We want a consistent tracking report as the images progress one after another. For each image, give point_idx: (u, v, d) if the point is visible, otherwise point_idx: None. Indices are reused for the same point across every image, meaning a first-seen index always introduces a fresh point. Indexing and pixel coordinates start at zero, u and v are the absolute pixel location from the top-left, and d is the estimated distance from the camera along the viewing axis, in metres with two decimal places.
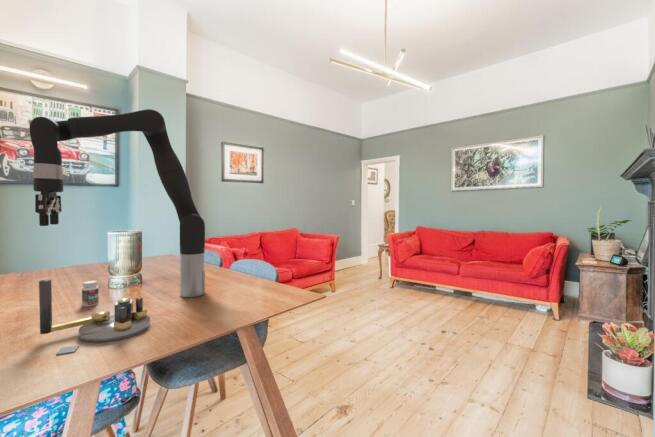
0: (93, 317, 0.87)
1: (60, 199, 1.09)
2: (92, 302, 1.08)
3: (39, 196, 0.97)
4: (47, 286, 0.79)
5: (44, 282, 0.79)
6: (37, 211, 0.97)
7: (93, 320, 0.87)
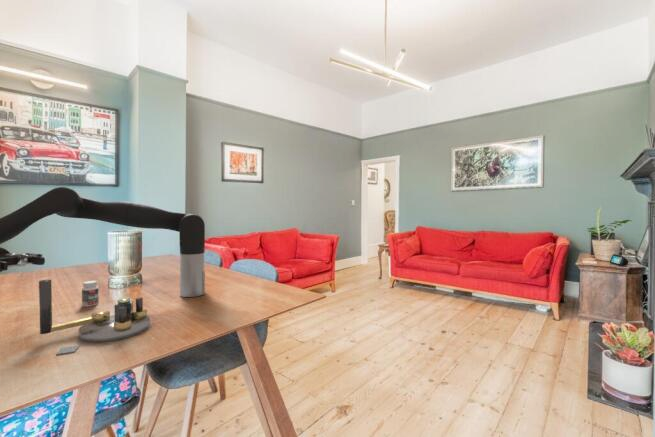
0: (93, 317, 0.87)
1: (30, 253, 0.90)
2: (92, 302, 1.08)
3: None
4: (47, 286, 0.79)
5: (44, 282, 0.79)
6: None
7: (93, 320, 0.87)
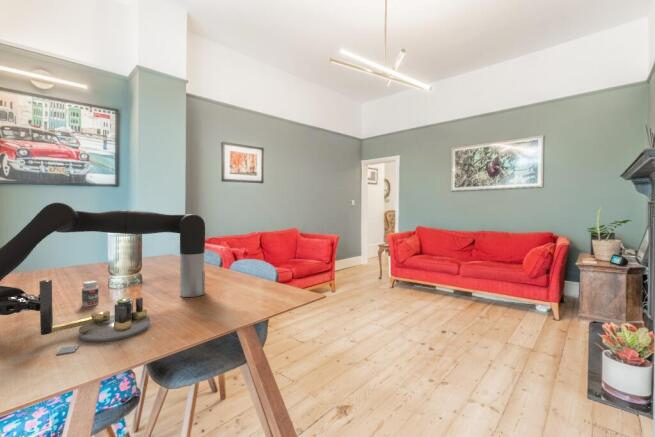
0: (93, 317, 0.87)
1: None
2: (92, 302, 1.08)
3: None
4: (48, 286, 0.79)
5: (45, 282, 0.78)
6: (16, 310, 0.78)
7: (93, 320, 0.87)
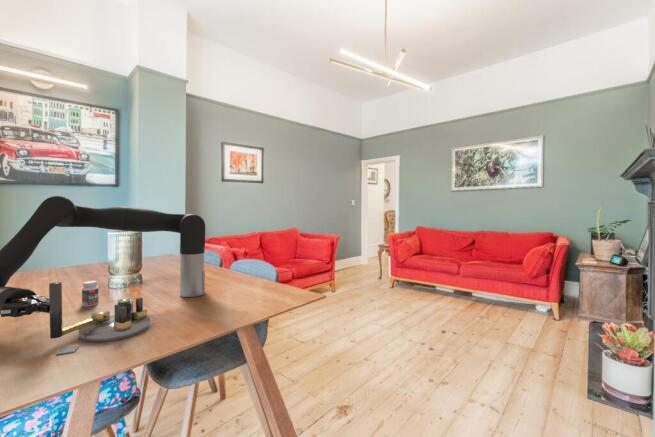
0: (96, 317, 0.87)
1: None
2: (92, 302, 1.08)
3: (3, 312, 0.75)
4: (60, 288, 0.77)
5: (57, 284, 0.77)
6: (28, 312, 0.77)
7: (97, 320, 0.87)
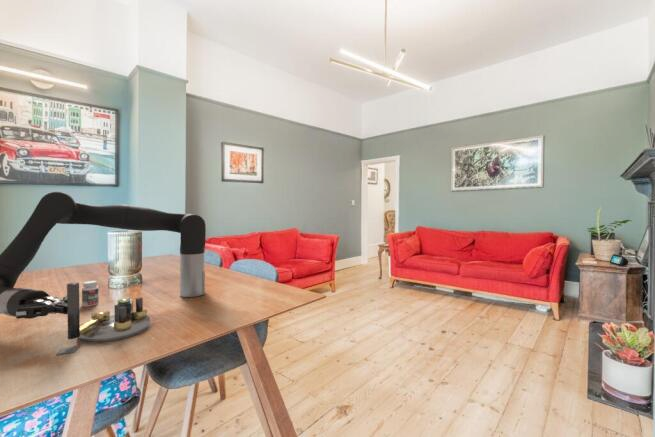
0: (100, 317, 0.88)
1: None
2: (92, 302, 1.08)
3: (19, 314, 0.74)
4: (78, 288, 0.78)
5: (77, 284, 0.77)
6: (43, 314, 0.76)
7: (100, 320, 0.88)
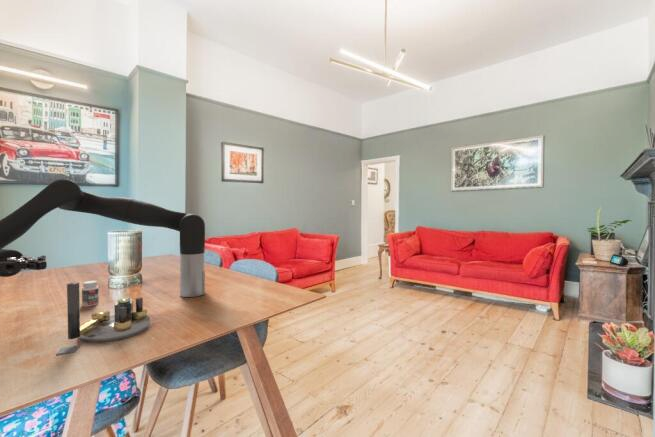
0: (100, 317, 0.88)
1: (43, 256, 0.87)
2: (92, 302, 1.08)
3: None
4: (78, 288, 0.78)
5: (77, 284, 0.77)
6: (16, 269, 0.78)
7: (100, 320, 0.88)
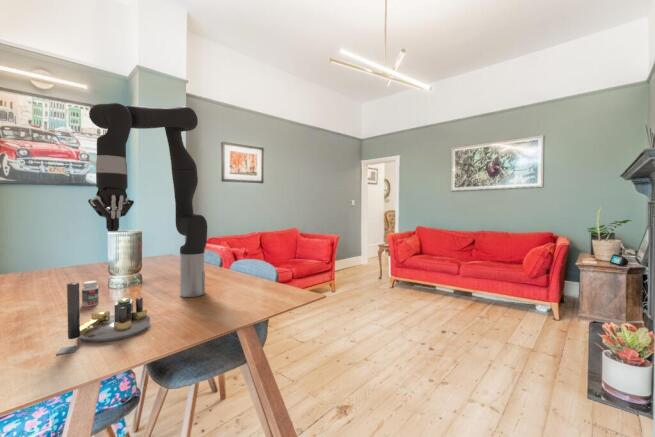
0: (100, 317, 0.88)
1: (131, 204, 0.93)
2: (92, 302, 1.08)
3: (91, 203, 0.83)
4: (78, 288, 0.78)
5: (77, 284, 0.77)
6: (101, 215, 0.86)
7: (100, 320, 0.88)
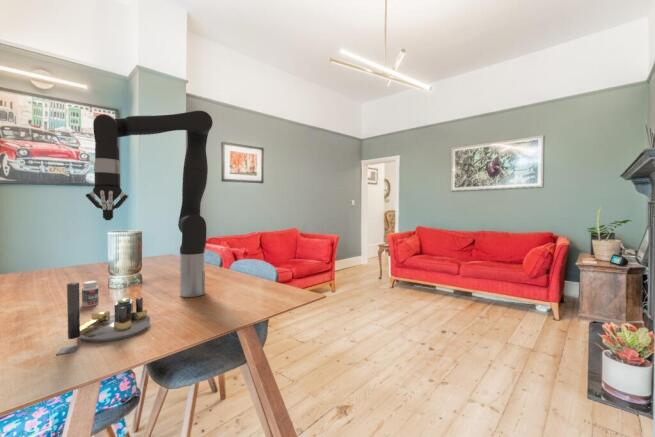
0: (100, 317, 0.88)
1: None
2: (92, 302, 1.08)
3: (127, 197, 1.11)
4: (78, 288, 0.78)
5: (77, 284, 0.77)
6: (117, 207, 1.09)
7: (100, 320, 0.88)
